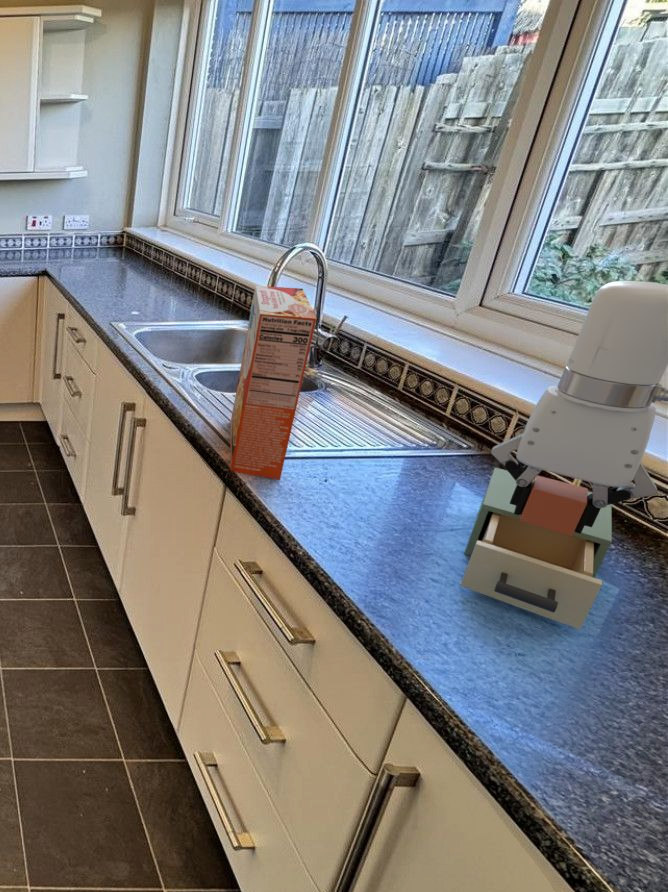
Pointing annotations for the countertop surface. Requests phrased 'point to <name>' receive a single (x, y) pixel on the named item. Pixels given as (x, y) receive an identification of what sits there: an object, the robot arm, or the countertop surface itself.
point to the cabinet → (499, 503)
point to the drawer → (534, 570)
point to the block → (555, 505)
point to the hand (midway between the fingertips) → (547, 518)
